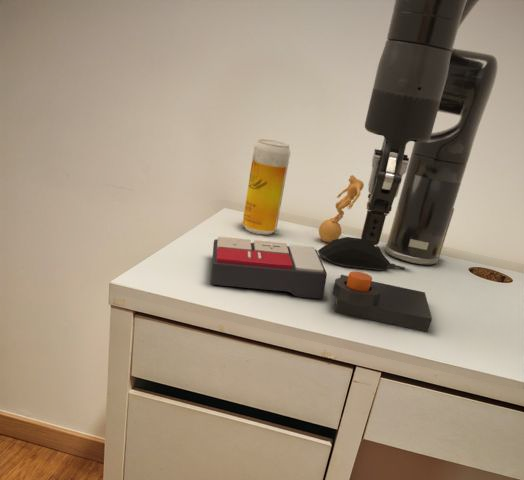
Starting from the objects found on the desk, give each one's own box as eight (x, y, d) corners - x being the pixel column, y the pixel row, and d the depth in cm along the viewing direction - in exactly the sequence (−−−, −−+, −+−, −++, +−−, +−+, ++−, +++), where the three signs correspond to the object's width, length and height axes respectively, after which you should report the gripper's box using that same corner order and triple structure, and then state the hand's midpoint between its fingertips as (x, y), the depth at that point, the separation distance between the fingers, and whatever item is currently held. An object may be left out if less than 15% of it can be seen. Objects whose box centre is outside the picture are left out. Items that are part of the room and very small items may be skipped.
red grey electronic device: (214, 233, 84) (317, 243, 85) (212, 262, 86) (312, 271, 87) (212, 257, 74) (328, 268, 76) (210, 289, 76) (323, 299, 78)
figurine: (312, 233, 108) (326, 167, 102) (343, 237, 109) (359, 172, 103) (321, 247, 100) (337, 176, 95) (354, 252, 101) (372, 182, 96)
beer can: (241, 223, 106) (254, 136, 99) (273, 227, 107) (289, 142, 100) (242, 232, 101) (257, 142, 94) (277, 237, 101) (293, 148, 95)
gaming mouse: (410, 276, 94) (417, 252, 92) (321, 264, 92) (326, 239, 90) (398, 263, 100) (405, 240, 98) (314, 251, 97) (319, 228, 96)
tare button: (346, 282, 76) (349, 269, 75) (369, 286, 76) (372, 274, 75) (345, 289, 74) (348, 276, 73) (369, 294, 73) (372, 281, 73)
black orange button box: (332, 285, 84) (338, 262, 82) (421, 304, 83) (428, 281, 81) (328, 314, 74) (334, 288, 72) (428, 335, 73) (437, 310, 71)
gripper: (448, 100, 58) (401, 264, 66) (435, 95, 70) (397, 235, 78) (374, 87, 59) (336, 251, 67) (373, 83, 71) (341, 223, 78)
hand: (369, 242), depth 72 cm, fingers closed
